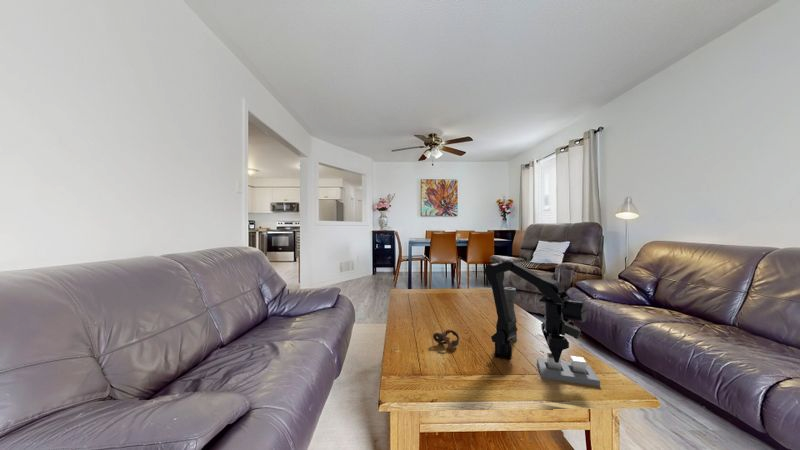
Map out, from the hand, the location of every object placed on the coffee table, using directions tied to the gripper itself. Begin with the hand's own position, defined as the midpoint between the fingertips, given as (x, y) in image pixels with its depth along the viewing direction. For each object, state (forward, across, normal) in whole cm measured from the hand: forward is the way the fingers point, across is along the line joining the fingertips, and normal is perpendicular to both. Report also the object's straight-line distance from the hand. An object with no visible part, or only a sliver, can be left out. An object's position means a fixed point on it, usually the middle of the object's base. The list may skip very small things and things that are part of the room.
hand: (554, 356), depth 106 cm
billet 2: (+6, 0, -8) cm, 10 cm away
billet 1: (+6, 0, 0) cm, 6 cm away
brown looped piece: (+7, +14, +43) cm, 46 cm away
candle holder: (+7, +31, +14) cm, 35 cm away
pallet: (+7, 0, -4) cm, 8 cm away
